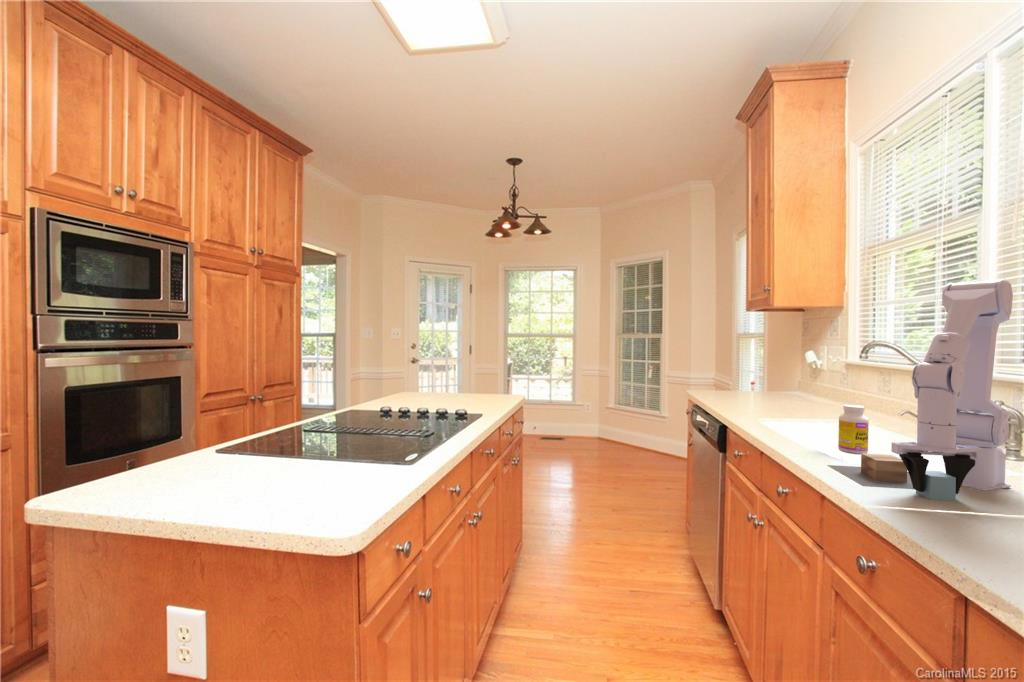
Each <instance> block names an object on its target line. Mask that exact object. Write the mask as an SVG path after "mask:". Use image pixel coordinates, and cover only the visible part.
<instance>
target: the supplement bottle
mask: <svg viewBox="0 0 1024 682" xmlns="http://www.w3.org/2000/svg"><path fill="white" fill-rule="evenodd" d="M842 409H843V411H844V413H842V414H840V415H839V416H838V441H837V442H838V444H837V447H838V451H840V452H841V453H845V454H850V455H859V456H860V455H861V453H863V454H869V453H868V452H869V424H870V423H869V422H870V420H869V418H868V417H867V416H866V415H864V413H865V406H863V405H857V404H844V405H843V407H842Z"/></svg>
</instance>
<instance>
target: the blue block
mask: <svg viewBox="0 0 1024 682" xmlns="http://www.w3.org/2000/svg"><path fill="white" fill-rule="evenodd" d="M915 493H916V494H918V495H920V496H922V497H924V498H927V499H928V500H931V501H947V502H956V496H957V494H956V478H955V477H953V476H950V475H948V474H946V472H943V471H938V470H937V471H936V470H926V473H925V489H924V492H919V491H917V490H915Z"/></svg>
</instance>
